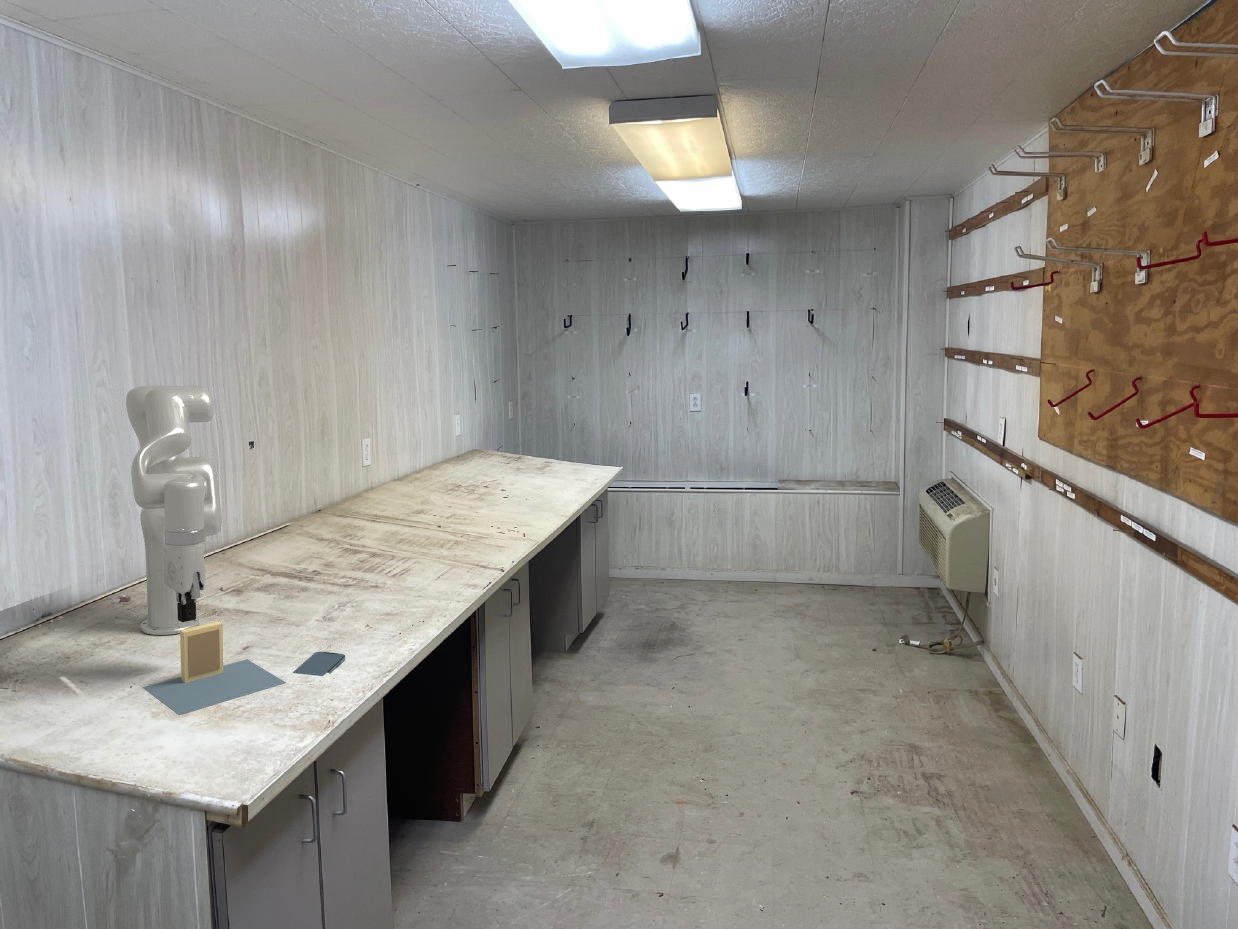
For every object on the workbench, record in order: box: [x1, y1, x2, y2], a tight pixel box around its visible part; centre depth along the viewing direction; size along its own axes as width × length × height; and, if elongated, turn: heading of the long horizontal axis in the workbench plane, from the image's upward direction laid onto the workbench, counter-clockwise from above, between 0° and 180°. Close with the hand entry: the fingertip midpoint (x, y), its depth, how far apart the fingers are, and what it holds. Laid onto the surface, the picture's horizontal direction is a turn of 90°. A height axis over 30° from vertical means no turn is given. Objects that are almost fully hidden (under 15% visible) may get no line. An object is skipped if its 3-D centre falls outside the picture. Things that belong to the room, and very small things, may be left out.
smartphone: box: [292, 651, 346, 677], centre depth 189 cm, size 8×2×15 cm
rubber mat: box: [142, 658, 287, 716], centre depth 177 cm, size 17×22×1 cm
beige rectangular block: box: [179, 621, 224, 683], centre depth 180 cm, size 2×8×11 cm, turn 140°
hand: (187, 620), depth 183 cm, fingers closed
